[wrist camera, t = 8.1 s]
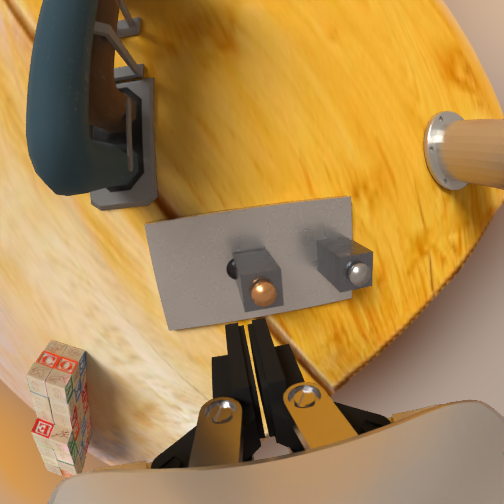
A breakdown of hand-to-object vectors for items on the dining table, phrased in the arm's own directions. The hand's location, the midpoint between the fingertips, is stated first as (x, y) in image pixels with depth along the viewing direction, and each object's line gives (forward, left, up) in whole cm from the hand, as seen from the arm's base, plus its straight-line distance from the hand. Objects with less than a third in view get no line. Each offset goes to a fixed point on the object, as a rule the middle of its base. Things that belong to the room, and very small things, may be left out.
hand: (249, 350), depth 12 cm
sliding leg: (-3, +5, -23) cm, 24 cm away
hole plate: (-4, +5, -25) cm, 25 cm away
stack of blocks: (+29, +23, -25) cm, 45 cm away
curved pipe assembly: (+9, -22, -25) cm, 34 cm away
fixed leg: (-14, +5, -23) cm, 28 cm away
